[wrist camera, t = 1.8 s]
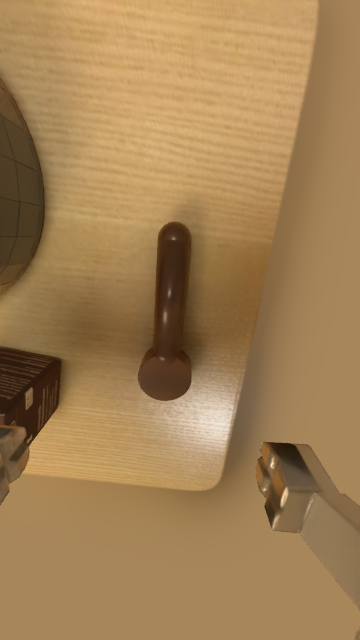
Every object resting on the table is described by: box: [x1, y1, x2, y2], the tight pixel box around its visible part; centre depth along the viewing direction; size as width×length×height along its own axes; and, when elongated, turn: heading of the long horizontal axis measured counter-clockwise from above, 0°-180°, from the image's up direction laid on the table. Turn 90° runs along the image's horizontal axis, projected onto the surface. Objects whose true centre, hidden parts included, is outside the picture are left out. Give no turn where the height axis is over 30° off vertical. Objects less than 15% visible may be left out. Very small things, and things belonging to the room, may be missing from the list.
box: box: [0, 347, 61, 445], centre depth 19 cm, size 6×6×7 cm
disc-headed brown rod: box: [138, 222, 191, 401], centre depth 19 cm, size 15×5×2 cm, turn 175°
